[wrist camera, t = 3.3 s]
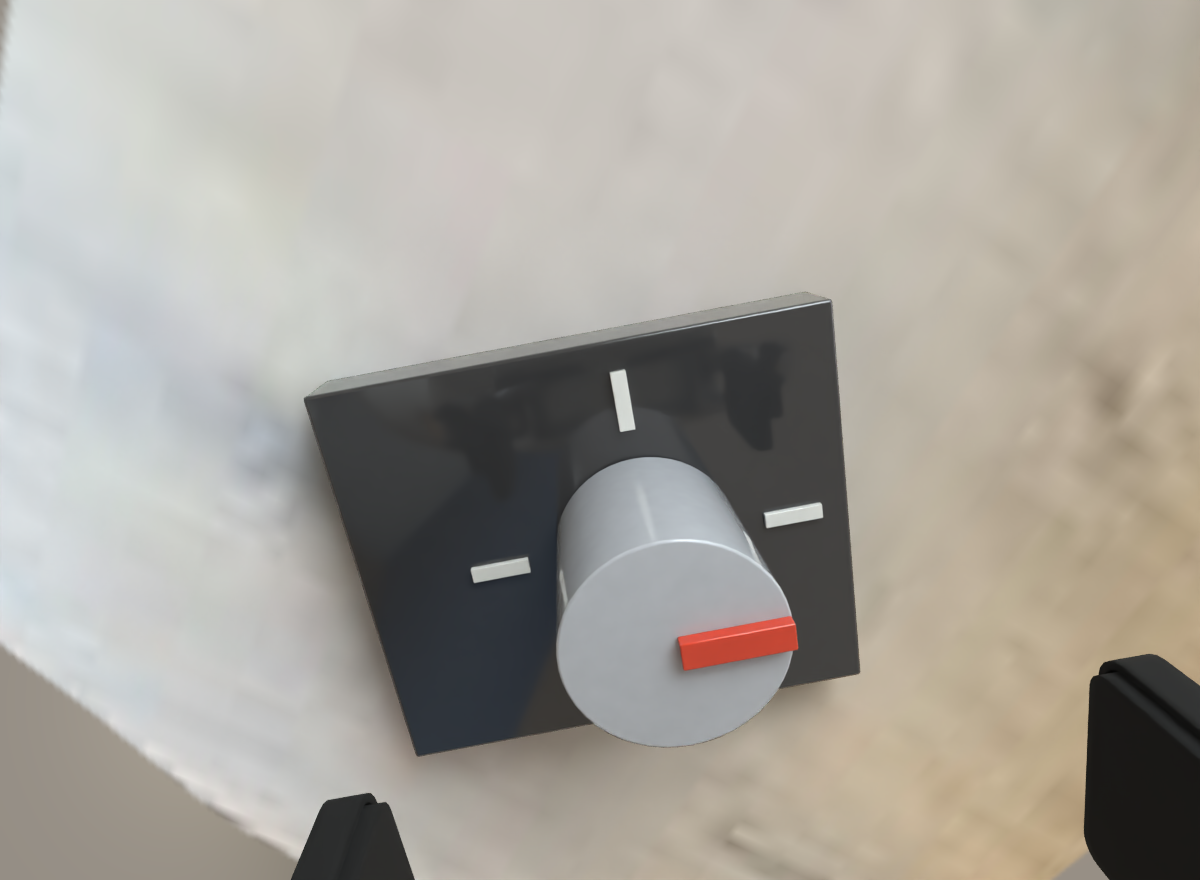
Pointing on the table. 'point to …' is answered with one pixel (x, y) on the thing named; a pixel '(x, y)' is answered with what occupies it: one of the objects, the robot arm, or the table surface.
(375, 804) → the robot arm
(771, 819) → the table surface
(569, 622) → the hob knob
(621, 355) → the base plate
